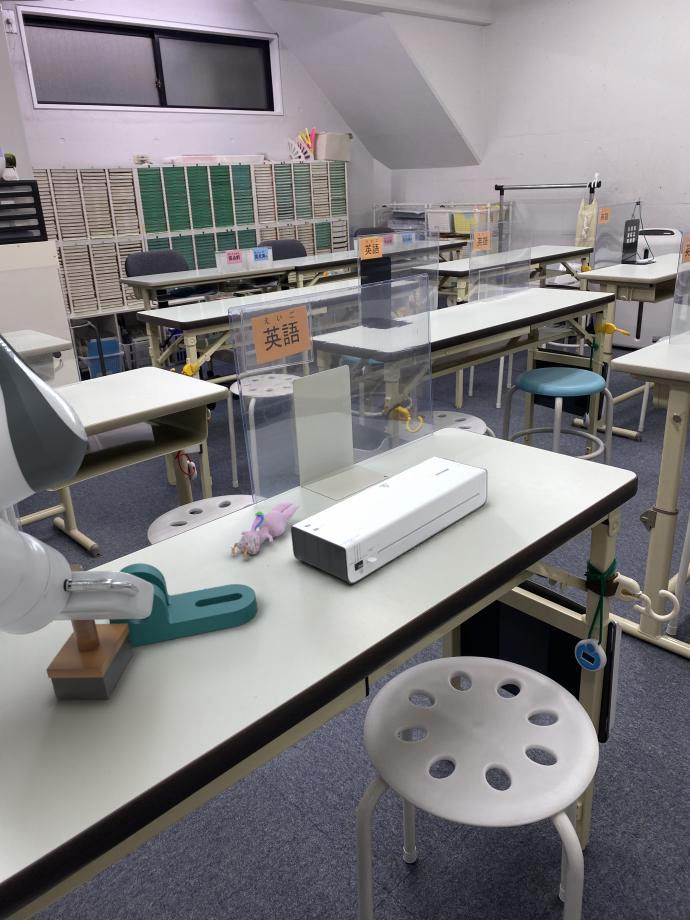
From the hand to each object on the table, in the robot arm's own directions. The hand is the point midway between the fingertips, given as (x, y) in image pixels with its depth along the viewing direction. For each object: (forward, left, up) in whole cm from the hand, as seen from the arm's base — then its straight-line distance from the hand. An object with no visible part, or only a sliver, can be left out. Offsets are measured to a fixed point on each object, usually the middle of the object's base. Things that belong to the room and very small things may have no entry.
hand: (83, 612), depth 78 cm
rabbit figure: (+15, +32, -9) cm, 37 cm away
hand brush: (0, -1, -8) cm, 8 cm away
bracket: (+8, +10, -9) cm, 16 cm away
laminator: (+36, +33, -9) cm, 50 cm away
